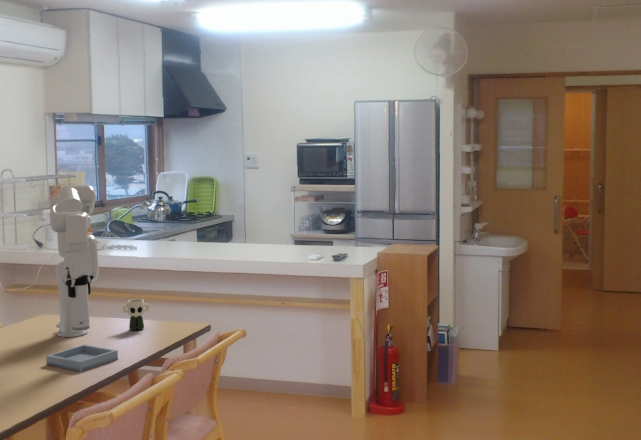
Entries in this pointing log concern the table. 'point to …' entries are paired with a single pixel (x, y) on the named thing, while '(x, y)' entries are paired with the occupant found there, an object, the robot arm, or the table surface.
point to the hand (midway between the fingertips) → (79, 295)
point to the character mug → (136, 313)
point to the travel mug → (80, 305)
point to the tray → (82, 357)
